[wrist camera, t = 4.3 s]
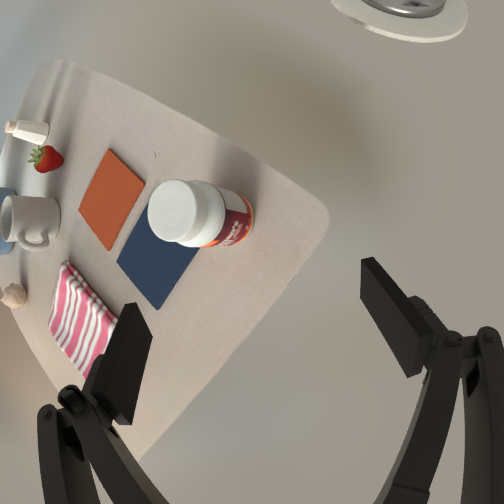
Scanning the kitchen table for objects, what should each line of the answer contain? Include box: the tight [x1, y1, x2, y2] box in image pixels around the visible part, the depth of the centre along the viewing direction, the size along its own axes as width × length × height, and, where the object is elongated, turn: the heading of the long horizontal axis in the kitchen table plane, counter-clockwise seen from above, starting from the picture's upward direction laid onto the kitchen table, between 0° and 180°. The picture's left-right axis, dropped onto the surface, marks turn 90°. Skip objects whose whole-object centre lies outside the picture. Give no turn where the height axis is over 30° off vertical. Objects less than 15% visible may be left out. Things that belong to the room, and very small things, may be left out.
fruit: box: [28, 145, 63, 173], centre depth 42 cm, size 5×5×8 cm
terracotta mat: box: [78, 149, 145, 251], centre depth 40 cm, size 12×11×1 cm
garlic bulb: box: [0, 283, 27, 309], centre depth 51 cm, size 7×6×8 cm
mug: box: [0, 195, 60, 251], centre depth 42 cm, size 12×8×11 cm
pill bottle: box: [148, 179, 254, 247], centre depth 28 cm, size 6×6×11 cm
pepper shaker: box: [5, 120, 49, 145], centre depth 45 cm, size 5×5×11 cm
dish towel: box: [48, 260, 118, 379], centre depth 43 cm, size 17×23×4 cm
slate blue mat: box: [116, 200, 200, 310], centre depth 37 cm, size 12×10×1 cm
